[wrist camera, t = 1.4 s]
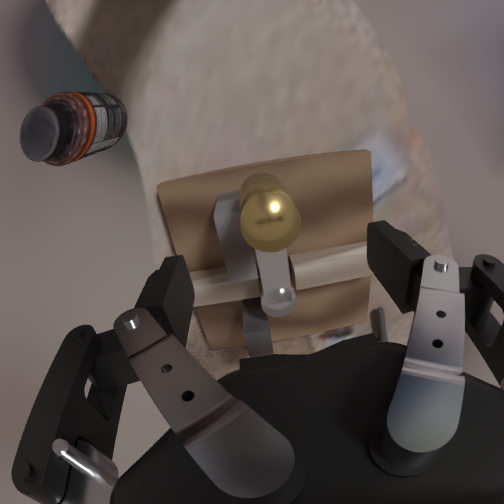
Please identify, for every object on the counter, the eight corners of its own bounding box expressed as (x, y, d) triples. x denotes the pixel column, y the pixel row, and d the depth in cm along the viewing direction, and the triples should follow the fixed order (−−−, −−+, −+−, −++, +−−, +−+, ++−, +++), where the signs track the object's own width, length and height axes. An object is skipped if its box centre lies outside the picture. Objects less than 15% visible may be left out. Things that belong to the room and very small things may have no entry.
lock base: (160, 182, 27) (135, 207, 20) (364, 149, 26) (402, 163, 19) (211, 342, 37) (208, 386, 30) (362, 314, 36) (382, 353, 29)
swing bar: (296, 305, 26) (311, 362, 20) (263, 311, 27) (270, 369, 20) (278, 166, 20) (297, 191, 14) (236, 173, 20) (235, 202, 14)
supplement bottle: (74, 143, 24) (5, 166, 14) (88, 90, 21) (18, 88, 11) (120, 155, 25) (60, 184, 15) (137, 99, 23) (78, 96, 13)
